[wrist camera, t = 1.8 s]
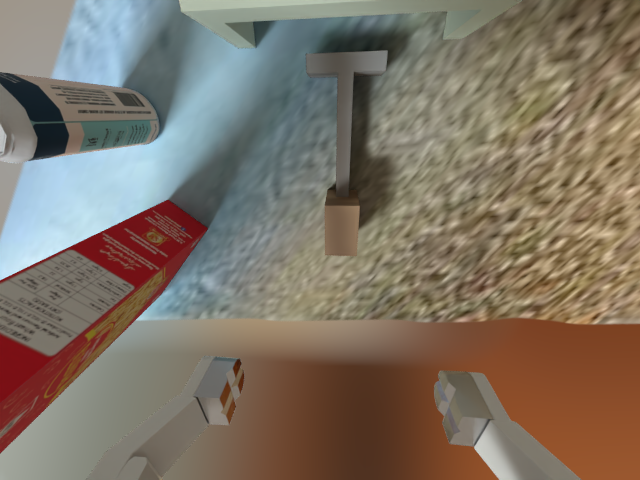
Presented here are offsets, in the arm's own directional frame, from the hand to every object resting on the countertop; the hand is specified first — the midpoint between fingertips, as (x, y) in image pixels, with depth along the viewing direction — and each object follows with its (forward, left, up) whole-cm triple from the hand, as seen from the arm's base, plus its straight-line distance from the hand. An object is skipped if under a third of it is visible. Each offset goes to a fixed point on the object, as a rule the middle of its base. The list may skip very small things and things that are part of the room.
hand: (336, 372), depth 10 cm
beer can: (+20, -10, -19) cm, 29 cm away
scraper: (0, -6, -18) cm, 19 cm away
